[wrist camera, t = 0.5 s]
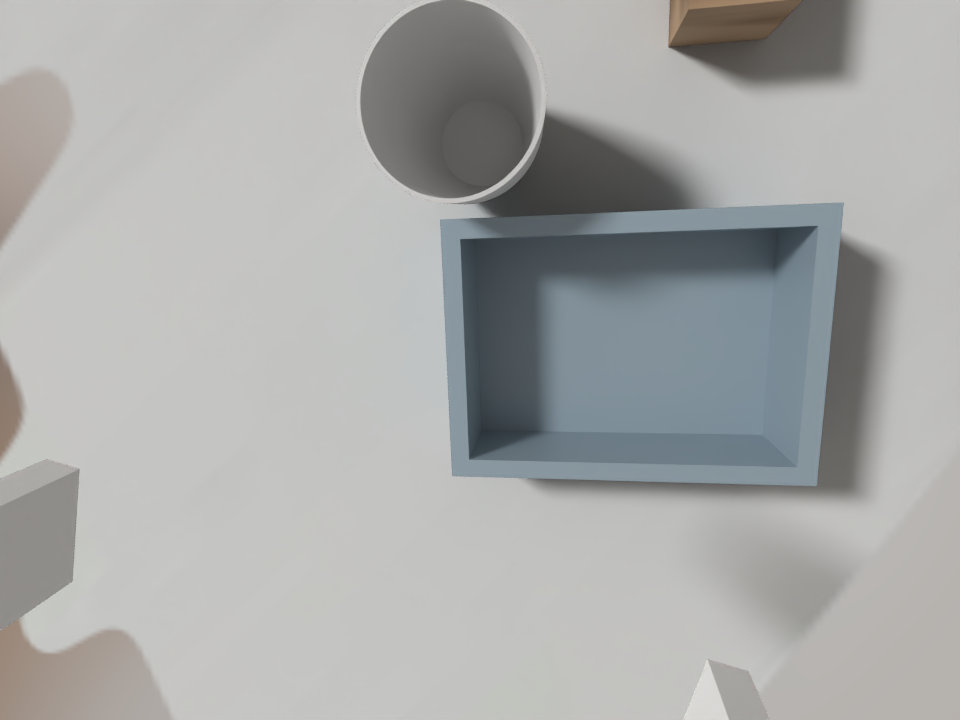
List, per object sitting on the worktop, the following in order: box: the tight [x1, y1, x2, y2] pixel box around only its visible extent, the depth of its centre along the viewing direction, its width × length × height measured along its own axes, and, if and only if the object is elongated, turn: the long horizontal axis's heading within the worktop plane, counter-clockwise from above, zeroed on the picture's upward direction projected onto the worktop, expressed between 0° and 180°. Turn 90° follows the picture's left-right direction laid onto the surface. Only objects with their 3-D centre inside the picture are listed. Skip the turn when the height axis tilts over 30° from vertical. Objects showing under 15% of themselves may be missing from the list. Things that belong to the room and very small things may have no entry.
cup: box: [356, 0, 547, 204], centre depth 28 cm, size 8×8×10 cm
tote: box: [440, 203, 844, 486], centre depth 31 cm, size 14×19×6 cm
